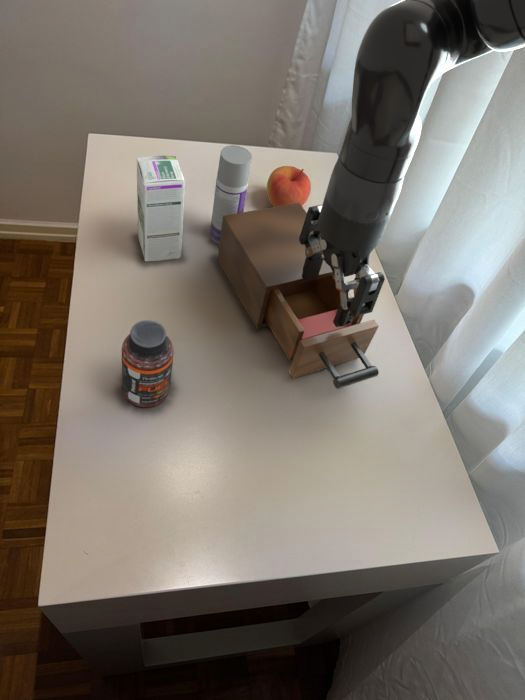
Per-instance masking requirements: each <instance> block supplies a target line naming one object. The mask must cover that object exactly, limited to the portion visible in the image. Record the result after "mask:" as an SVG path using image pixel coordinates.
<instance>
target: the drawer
mask: <svg viewBox="0 0 525 700" xmlns="http://www.w3.org/2000/svg"><path fill="white" fill-rule="evenodd" d="M349 298H353V296H352V295H351V294H350V293H349ZM340 304H341V298H340V291H339V290H337V289H336V283H335V275H332V276H328V277H323V278H319V279H315V280H311V281H307V282H302V283H298V284H294V285H290V286H285V287H281V288H277V289H273V290H271V291H270V295H269V299H268V303H267V307H266V311H265V315H264V318H265V320H266V322H267V324H268V325H269V326H268V327H269V329H270V331H271V332H272V334H273V336H274V337H275V339H276V341H277V342H278V344H279V346H280V348H281V350H282V351H283V353H284V354H285V356H286V358H287V359H288V361H289V362H291V364H290V367H289V370H288V373H289V375H290V376H291V378H292V379H295V378H299V377H302V376H306V375H308V374H309V375H310V374H313V373H315V372H318V371H322V370H325V369H327V371H328V372H329V374H330V375H331V377H332V383H333V386H334V387H335V389H343V388H345V387H348V386H350V385H354V384H357V383H360V382H363V381H366V380H369V379H372V378H376V377H378V376H379V368H378V367H377V366H375V365H372V364H371V362H370V361H369V359H368V358H367V356H366V355H365V354H366V352H367V350H368V348H369V346H370V344H371V343H372V340H373V338H374V337H375V335H376V333H377V330H378V329H379V324H378V323H377V321H376V319H371V320H367V321H364V322H362V320H363V318H364V316H365V314H363V315H360V316H356V317H354V319H353V322H352V326H349V327H346V328H342V329H338V330H335V331H331V332H328V333H324V334H321V335H317V336H313V337H310V338H306V339H303V340H301V339H302V337H303V334H304V329H303V327H302V326H301V324H300V322H299V321H298V320H299V319H303V318H306V317H310V316H314V315H318V314H321V313H325V312H329V311H333V310H336V309H338V307H339V305H340ZM357 359H359V360H360V362H361V363H362V365H363V366H364V368H362V369H359V370H356V371H352V372H349V373H346V374H343V375H339V373H338V372H337V370H336V369H335V366H338V365H341V364H345V363H348V362H351V361H353V360H357Z"/></svg>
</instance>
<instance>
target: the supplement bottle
mask: <svg viewBox="0 0 525 700" xmlns="http://www.w3.org/2000/svg"><path fill="white" fill-rule="evenodd" d="M120 351H121V352H120V353H121V354H120V355H121V356H120V357H121V385H122V386H121V388H122V394H123V395H124V397H125V399H126V400H127V401H128V402H130V403H131V404H133V405H134V406H137V407H140V408H152V407H156V406H159V405H161V403H163V402H164V401H165V400H166V399H167V398H168V397H169V394H170V391H171V384H172V374H173V365H174V345H173V342H172V340H171V339H170V337H169V336H168V335H167V331H166V329H165V327H164V326H163V325H162V324H161V323H160V322H158V321H157V320H156V321H155V320H152V319H144V320H140V321H138V322H136V323H135V324H133V326H131V329H130V331H129V334H128V335H127V336H126V337H125V338H124V340H123V341H122V345H121V350H120Z"/></svg>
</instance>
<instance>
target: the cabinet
mask: <svg viewBox="0 0 525 700" xmlns="http://www.w3.org/2000/svg"><path fill="white" fill-rule="evenodd" d="M306 215H307V211H306V210H305V208H304V207H303V206H301V204H300V203H294V204H288V205H282V206H276V207H274V206H272V207H266V208H261V209H260V208H259V209H255V210H248V211H243V212H242V213H236V214H231V215H225V216H223V221H222V228H221V235H220V242H219V244H218V250H217V257H216V260H217V262H218V264H219V265H220V267H221V269H222V271H223V272H224V275H225V276H226V278H227V280H228V281H229V283H230V285H231V286H232V289H233V291H234V292H235V294H236V295H237V297H238V299H239V301H240V302H241V304H242V306H243V308H244V309H245V311H246V313H247V315H248V316H249V318H250V320H251V322H252V323H253V325H254V327H255V329H256V330H258V329H261V328H265V327H269V325H268V324H267V322H266V320H265V318H264V315H265V311H266V307H267V303H268V299H269V295H270V291H271V290H273V289H277V288H281V287H285V286H290V285H294V284H298V283H302V282H307V281H304V279H303V278H302V273H303V266H304V263H305V259H306V255H305V249H306V247H305V245H301V244H300V241H299V237H300V234H301V231H302V227H303V224H304V221H305V218H306ZM312 233H313V231H312V232H311V233H310V234H312ZM320 240H321V238H320ZM320 240H319V241H320ZM322 256H323V254H322ZM323 257H324V256H323ZM332 275H334V273H333V272H332V270H331V267H330V266H329V265H328V264H327V263H326V262H325V261H324V260H323V263H322V266H321V269H320V272H319V275H318V277H317V278H316V279H319V278H323V277H328V276H332ZM313 280H315V279H313ZM309 281H311V280H309Z"/></svg>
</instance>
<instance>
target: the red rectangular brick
mask: <svg viewBox="0 0 525 700" xmlns="http://www.w3.org/2000/svg"><path fill="white" fill-rule="evenodd" d="M337 310H338V309H336V310H333V311H329V312H325V313H321V314H318V315H314V316H310V317H306V318H303V319H299V320H298V321H299V322H300V324H301V326H302V327H303V329H304V334H303V337H302V339H301V340H303V339H306V338H310V337H313V336H317V335H321V334H324V333H328V332H331V331H335V330H338V329H342V328H346V327H349V326H352V323H351V324H349V325H346V326H342V327H336V326H335V325H334V323H333V320H334V318H335V315H336V313H337Z"/></svg>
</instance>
